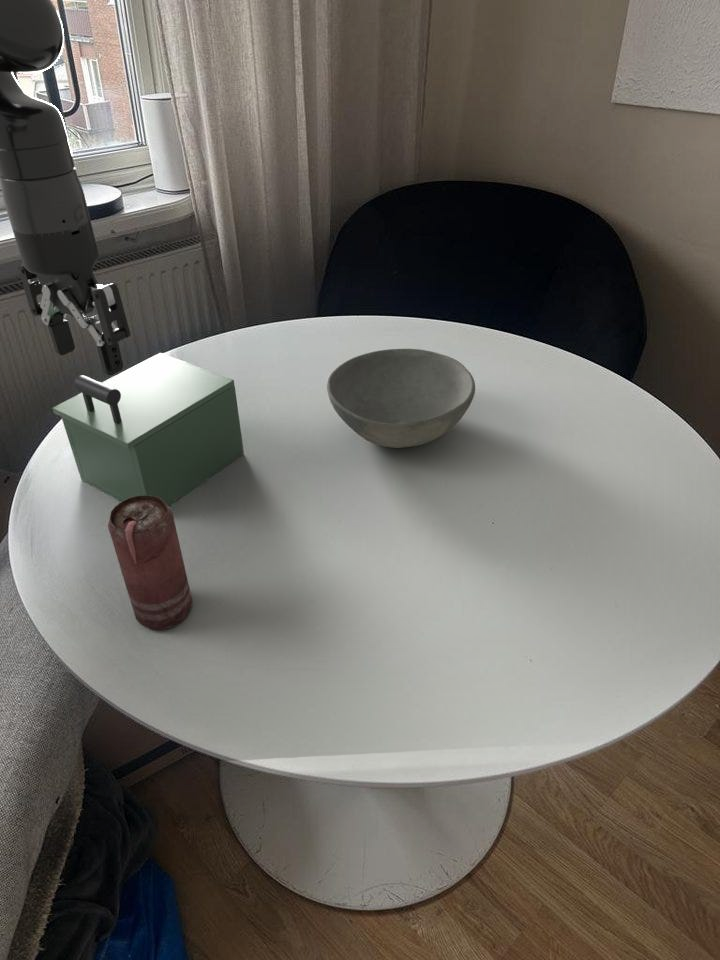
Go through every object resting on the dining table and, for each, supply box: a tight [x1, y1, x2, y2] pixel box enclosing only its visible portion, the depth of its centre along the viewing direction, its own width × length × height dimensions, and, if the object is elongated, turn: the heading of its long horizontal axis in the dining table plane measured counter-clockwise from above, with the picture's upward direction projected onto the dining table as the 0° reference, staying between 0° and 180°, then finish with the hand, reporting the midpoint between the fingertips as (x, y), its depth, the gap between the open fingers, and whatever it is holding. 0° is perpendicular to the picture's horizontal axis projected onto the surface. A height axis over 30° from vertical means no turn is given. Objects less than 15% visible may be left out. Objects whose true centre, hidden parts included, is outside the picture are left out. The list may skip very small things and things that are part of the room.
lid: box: [52, 352, 235, 449], centre depth 89 cm, size 18×14×5 cm
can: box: [107, 495, 193, 631], centre depth 72 cm, size 6×6×14 cm
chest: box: [61, 385, 245, 507], centre depth 94 cm, size 17×14×11 cm
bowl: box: [326, 348, 476, 449], centre depth 102 cm, size 21×21×8 cm
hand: (89, 362), depth 81 cm, fingers open, 8 cm apart
